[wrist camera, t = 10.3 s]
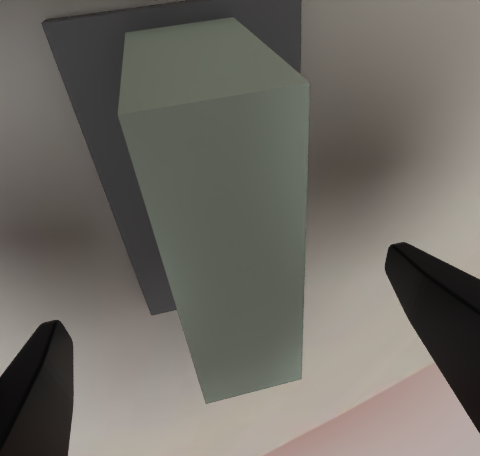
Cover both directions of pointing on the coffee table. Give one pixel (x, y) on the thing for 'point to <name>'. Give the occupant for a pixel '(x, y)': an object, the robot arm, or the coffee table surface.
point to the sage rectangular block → (223, 193)
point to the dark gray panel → (108, 91)
